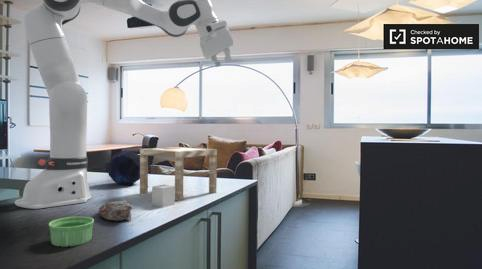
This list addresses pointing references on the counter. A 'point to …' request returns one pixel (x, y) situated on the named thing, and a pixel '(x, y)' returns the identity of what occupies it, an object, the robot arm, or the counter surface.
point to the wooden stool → (178, 167)
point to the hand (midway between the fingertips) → (223, 63)
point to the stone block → (163, 195)
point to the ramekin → (71, 231)
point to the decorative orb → (124, 168)
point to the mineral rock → (116, 211)
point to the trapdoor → (179, 149)
